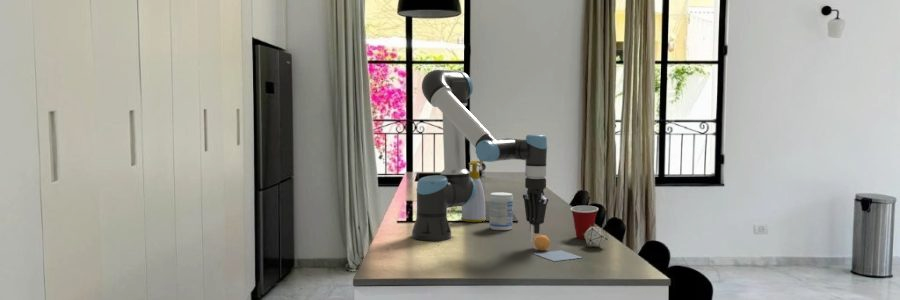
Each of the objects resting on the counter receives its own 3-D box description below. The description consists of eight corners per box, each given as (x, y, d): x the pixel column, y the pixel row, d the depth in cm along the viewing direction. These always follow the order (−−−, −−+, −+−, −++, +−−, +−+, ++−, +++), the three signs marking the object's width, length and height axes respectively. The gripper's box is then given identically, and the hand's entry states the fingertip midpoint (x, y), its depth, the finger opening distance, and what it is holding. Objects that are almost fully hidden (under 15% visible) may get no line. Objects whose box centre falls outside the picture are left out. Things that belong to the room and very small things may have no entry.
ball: (537, 233, 240) (542, 247, 238) (550, 232, 243) (554, 246, 240) (529, 239, 244) (534, 253, 242) (541, 237, 247) (546, 252, 245)
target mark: (533, 254, 237) (533, 253, 237) (561, 250, 242) (561, 250, 242) (553, 261, 226) (553, 260, 226) (582, 258, 232) (582, 257, 232)
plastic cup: (564, 237, 265) (564, 207, 264) (579, 233, 273) (579, 204, 272) (588, 242, 258) (589, 210, 257) (602, 238, 266) (603, 207, 265)
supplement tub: (512, 231, 277) (513, 195, 276) (489, 230, 277) (489, 195, 276) (511, 226, 286) (512, 192, 285) (489, 226, 287) (490, 191, 286)
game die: (594, 258, 247) (588, 239, 242) (580, 245, 254) (575, 227, 248) (614, 245, 249) (609, 226, 243) (600, 233, 256) (594, 214, 250)
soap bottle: (491, 219, 302) (492, 161, 300) (478, 223, 292) (479, 163, 290) (469, 217, 308) (470, 159, 306) (456, 220, 298) (456, 161, 296)
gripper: (555, 178, 241) (553, 244, 243) (534, 175, 252) (532, 237, 254) (537, 179, 237) (536, 246, 239) (517, 175, 249) (515, 239, 251)
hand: (534, 241), depth 247 cm, fingers closed
